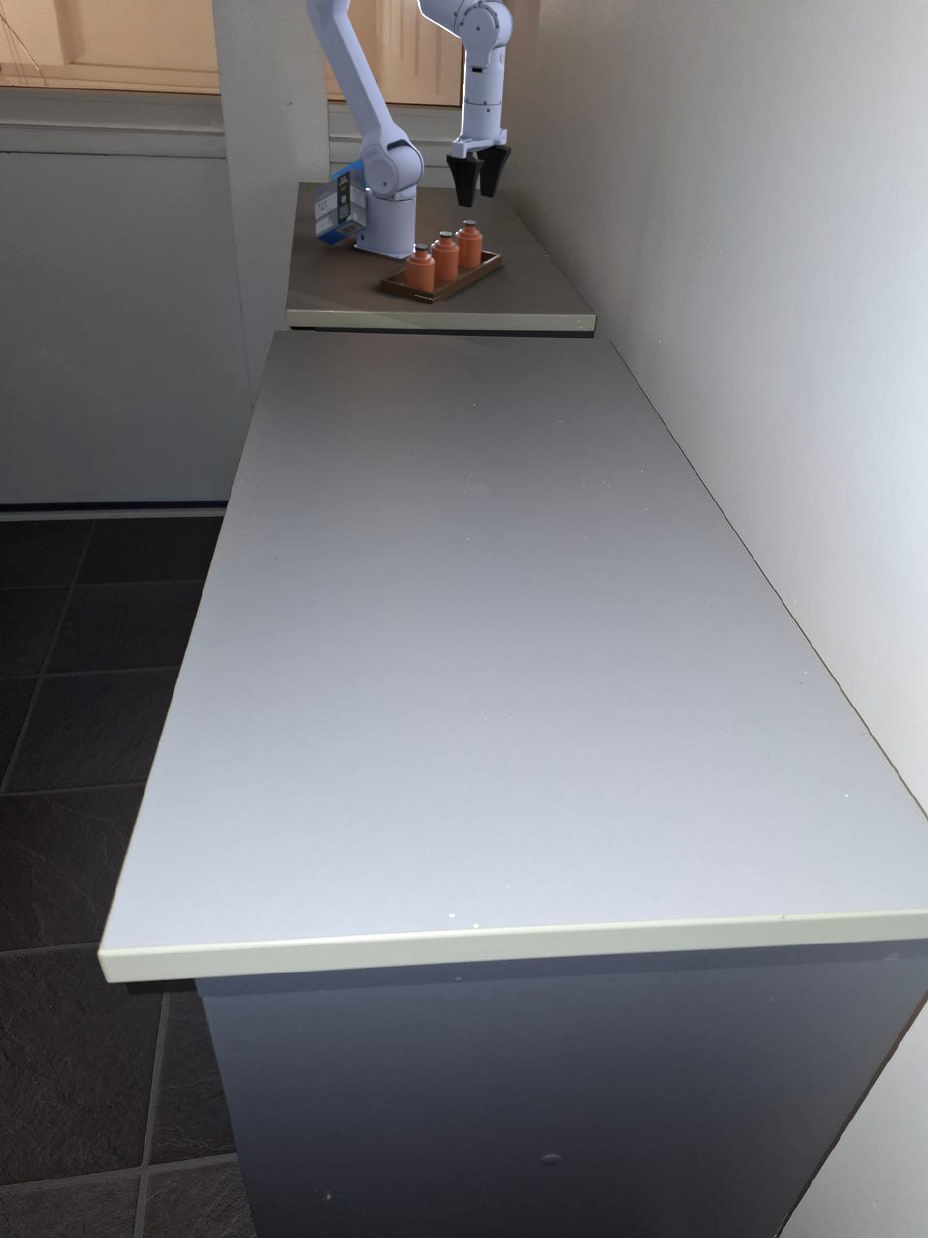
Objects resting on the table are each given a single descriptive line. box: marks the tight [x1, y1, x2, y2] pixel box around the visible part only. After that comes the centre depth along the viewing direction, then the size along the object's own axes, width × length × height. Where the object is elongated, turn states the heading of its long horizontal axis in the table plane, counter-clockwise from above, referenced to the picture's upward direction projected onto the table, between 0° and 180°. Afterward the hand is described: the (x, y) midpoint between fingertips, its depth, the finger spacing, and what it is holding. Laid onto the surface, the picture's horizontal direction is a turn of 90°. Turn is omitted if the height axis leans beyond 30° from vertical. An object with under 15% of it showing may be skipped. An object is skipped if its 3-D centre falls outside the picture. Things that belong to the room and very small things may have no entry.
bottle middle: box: [430, 231, 459, 281], centre depth 134 cm, size 4×4×6 cm
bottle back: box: [454, 219, 484, 268], centre depth 140 cm, size 4×4×6 cm
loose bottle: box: [405, 243, 435, 292], centre depth 129 cm, size 4×4×6 cm
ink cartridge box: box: [314, 157, 366, 246], centre depth 141 cm, size 9×4×12 cm
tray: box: [379, 249, 503, 305], centre depth 136 cm, size 23×9×2 cm, turn 152°
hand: (476, 201), depth 135 cm, fingers open, 7 cm apart
